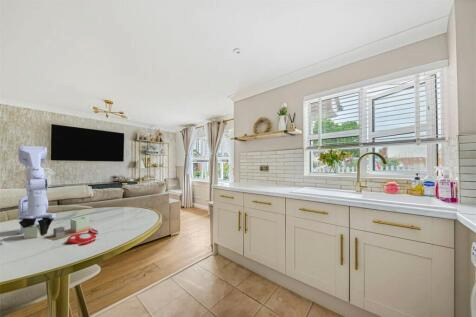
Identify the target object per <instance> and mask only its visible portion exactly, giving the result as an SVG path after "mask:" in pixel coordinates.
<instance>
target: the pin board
mask: <svg viewBox="0 0 476 317" xmlns="http://www.w3.org/2000/svg"><path fill="white" fill-rule="evenodd" d="M90 229H94V228H93V227H90ZM88 231H89V229H87V230H83V231H80V232H72V231H70V229H68V230H65V227H64V226H58V227H54V228H53V232H52V233H53V234H49V235H44V239H48V240H51V241H57V240H61V239H64V238H69V237H70V236H72V235H75V234H80V233H86V232H88Z"/></svg>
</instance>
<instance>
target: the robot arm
mask: <svg viewBox="0 0 476 317" xmlns="http://www.w3.org/2000/svg"><path fill="white" fill-rule="evenodd" d="M17 149H18V151H17V152H18V154H17V156H18V162H19V164H22V165H24V167H25V169H26V171H25V172H26V174H25V175H26V182H25V183H26V184H25V188H26V194H25V195H24V196H22V197H21V198H19V200H18V206H17V207H18V210H17V211H18V215H16V216H17V221H18V224H19V225H20V230H18V231H17V233H19V234H22V235H24V228H26V227H29V226H32V225H35V224H39V225H40V233H41V235H44V234H46V235H48V234H47V231H48V228H49V229H50V225H51V224H52V222H53V221H54V219H55V218H57V213H55V212H47V211H48V209H49V200H48V196H47V191H48V188H49V181H48V177H47V176H46V173H45V169H44V168H43V167H42V166H41V165H42V164H44V163H45V162H46V161H47V160H46V159H47V155H48V148H47V146H45V145H44V146H38V145H37V146H36V145H35V146H33V145H31V146H30V145H19V146H18V148H17ZM44 236H45V235H44Z"/></svg>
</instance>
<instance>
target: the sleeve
mask: <svg viewBox="0 0 476 317" xmlns="http://www.w3.org/2000/svg"><path fill="white" fill-rule="evenodd" d="M48 234H49V235H50V227H49V228H48V231H47V234H44V235H41V233H40V225H39V224H35V225H32V226H29V227H26V228H24V234H23V239H24V240H27V239H39V238H41V237H42V236H43V237H45V236H47V235H48Z"/></svg>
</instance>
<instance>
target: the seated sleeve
mask: <svg viewBox="0 0 476 317" xmlns="http://www.w3.org/2000/svg"><path fill="white" fill-rule="evenodd" d="M90 224H91V222H90V217H88V216H80V217H75V218H72V219H70V229H69V230H70V231H72V232H80V231H83V230H87V229H89V228H91V225H90Z"/></svg>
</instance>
